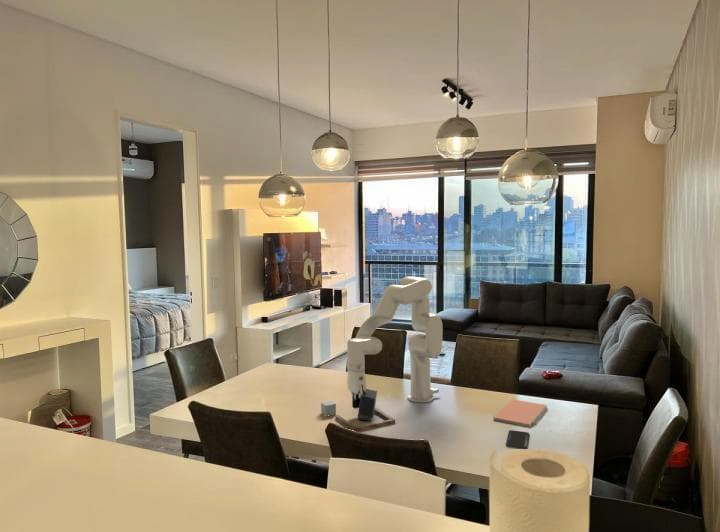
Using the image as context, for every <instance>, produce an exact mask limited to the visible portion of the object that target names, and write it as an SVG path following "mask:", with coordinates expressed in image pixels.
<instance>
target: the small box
mask: <svg viewBox="0 0 720 532" xmlns="http://www.w3.org/2000/svg"><path fill="white" fill-rule="evenodd" d="M377 395H378V391H377V390H373V389H369V388H366V393H364V392H363V394H361V398H360V405H359V408H358V413H357V419H358V420H364V421H369V422H372V420H373V417H374V414H375V413H374V410H375V408H376V402H377V397H378V396H377Z"/></svg>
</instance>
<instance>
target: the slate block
mask: <svg viewBox="0 0 720 532" xmlns="http://www.w3.org/2000/svg"><path fill="white" fill-rule="evenodd" d="M320 406H321V407H320V409H321V411H320V412H321V414H322V413H323V414H324V415H325V416H324V415H323V414H322V415H323V416H324V417H326V416H327V417H329V416H328V415H332V416H335V415H334V414H336V415H337V404H336V403H335V402H333V401H332V400H326V401H322V402H320Z"/></svg>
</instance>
